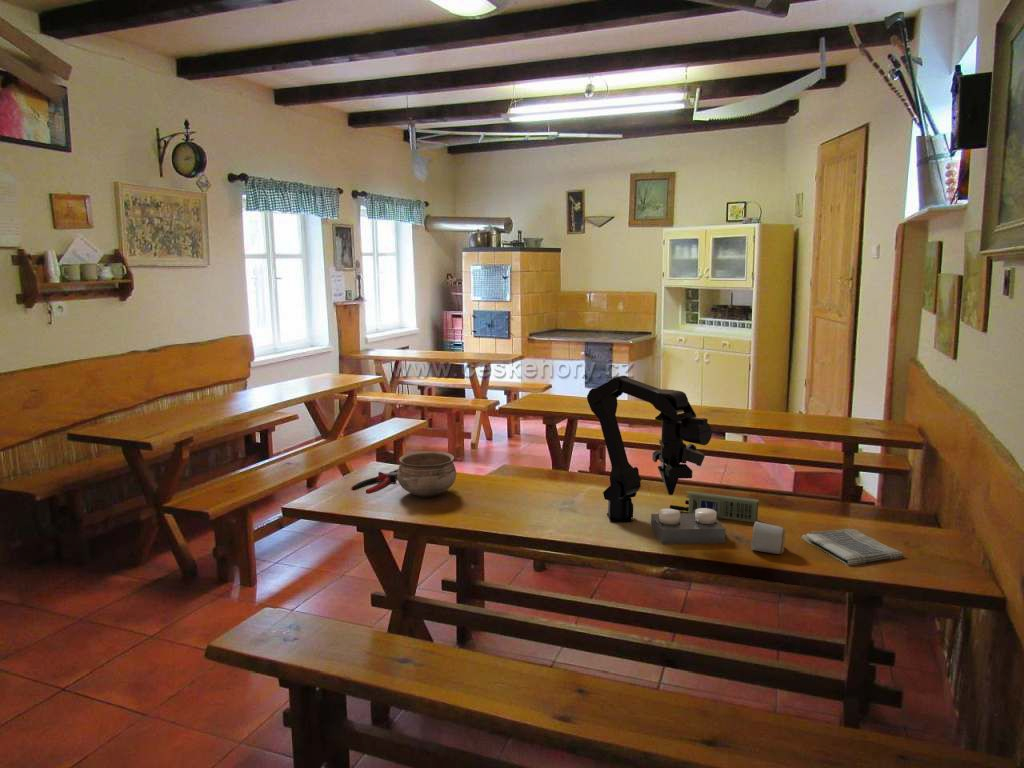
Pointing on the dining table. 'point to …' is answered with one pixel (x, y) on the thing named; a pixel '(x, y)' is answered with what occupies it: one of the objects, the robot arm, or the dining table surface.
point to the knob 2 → (705, 516)
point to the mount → (687, 531)
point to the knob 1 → (669, 516)
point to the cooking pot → (426, 473)
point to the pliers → (381, 477)
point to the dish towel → (851, 546)
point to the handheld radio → (722, 506)
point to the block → (768, 538)
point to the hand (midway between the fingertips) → (670, 494)
